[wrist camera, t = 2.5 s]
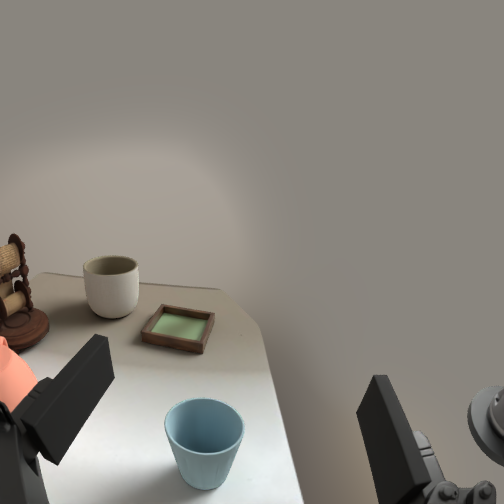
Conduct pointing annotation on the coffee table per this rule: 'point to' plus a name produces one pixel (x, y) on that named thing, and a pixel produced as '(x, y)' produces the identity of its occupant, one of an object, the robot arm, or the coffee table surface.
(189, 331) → the wooden serving tray
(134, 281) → the planter
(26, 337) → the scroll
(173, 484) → the coffee table surface
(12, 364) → the sugar bowl
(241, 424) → the cup
